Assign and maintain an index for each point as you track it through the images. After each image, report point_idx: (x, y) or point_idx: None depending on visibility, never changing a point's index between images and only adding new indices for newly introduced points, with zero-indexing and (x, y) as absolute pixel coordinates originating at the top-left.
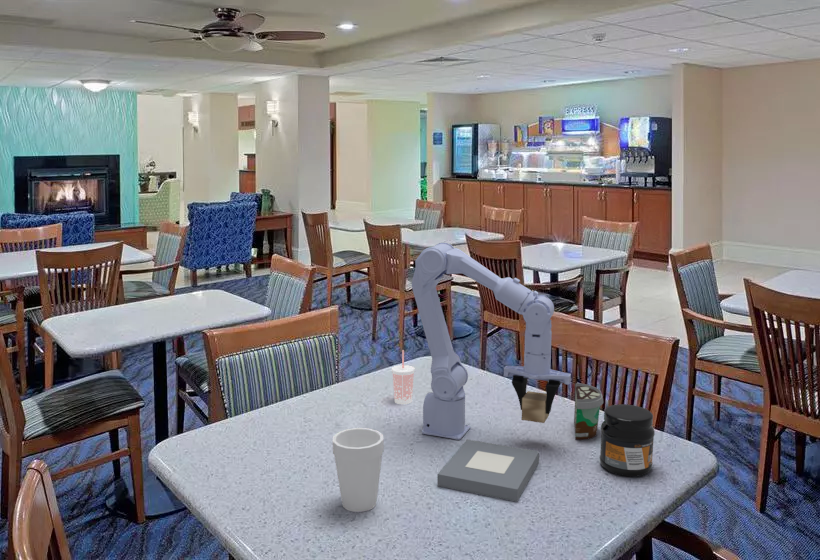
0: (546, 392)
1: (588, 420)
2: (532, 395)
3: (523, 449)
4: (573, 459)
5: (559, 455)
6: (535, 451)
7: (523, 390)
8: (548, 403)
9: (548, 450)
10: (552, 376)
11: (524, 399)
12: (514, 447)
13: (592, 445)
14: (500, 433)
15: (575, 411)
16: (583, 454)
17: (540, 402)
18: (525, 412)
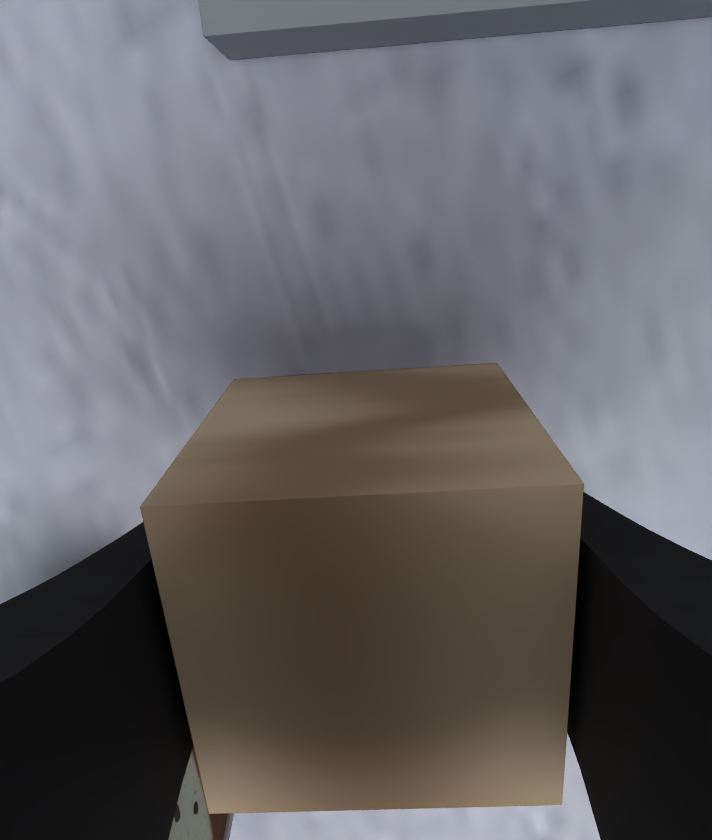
0: (42, 654)
1: None
2: (438, 676)
3: (357, 1)
4: (28, 257)
5: (142, 278)
6: (234, 13)
7: (629, 686)
8: (129, 548)
9: (244, 327)
10: None
11: (532, 478)
12: (455, 6)
13: (21, 531)
14: (658, 458)
15: (175, 815)
16: (7, 373)
17: (226, 484)
18: (467, 395)
